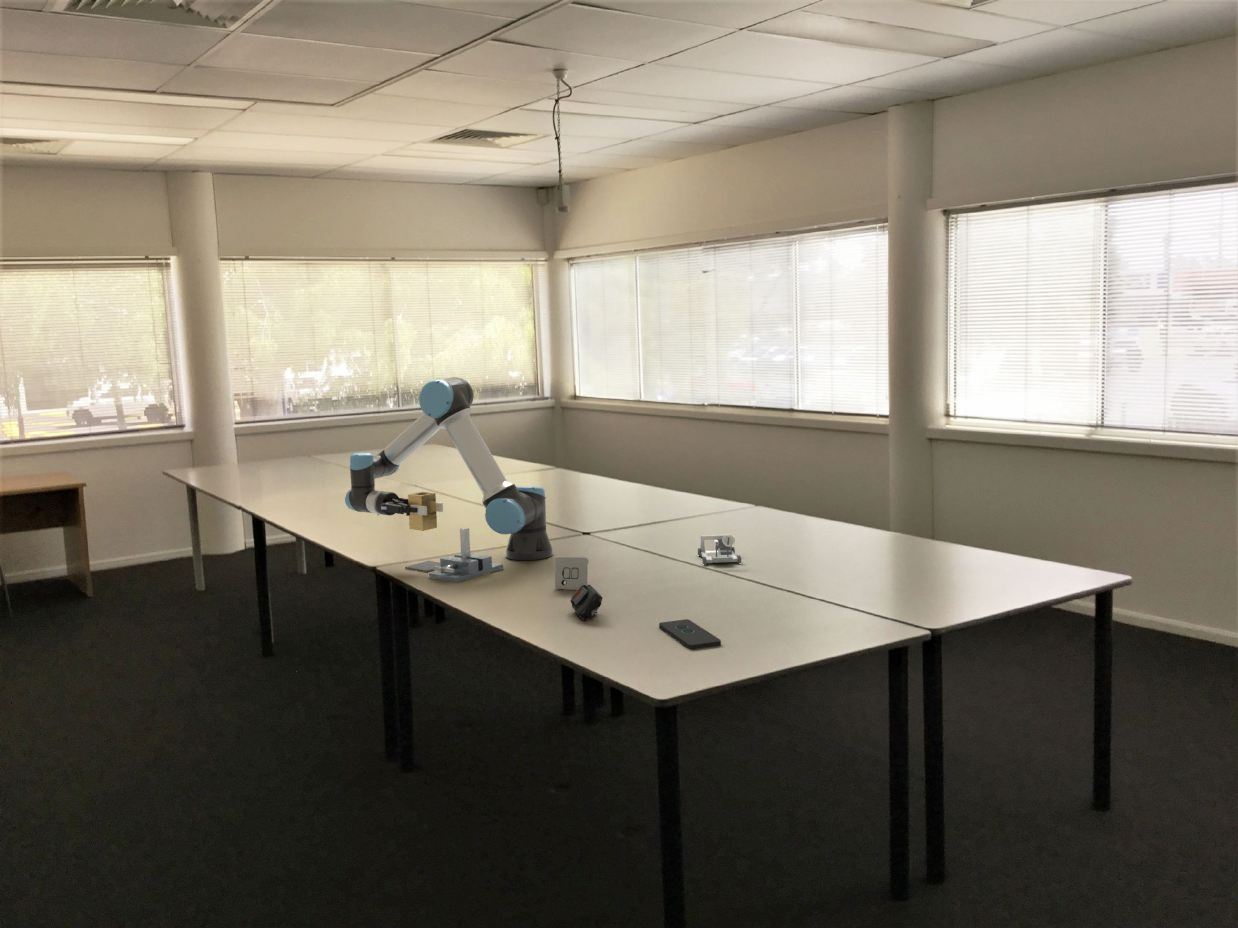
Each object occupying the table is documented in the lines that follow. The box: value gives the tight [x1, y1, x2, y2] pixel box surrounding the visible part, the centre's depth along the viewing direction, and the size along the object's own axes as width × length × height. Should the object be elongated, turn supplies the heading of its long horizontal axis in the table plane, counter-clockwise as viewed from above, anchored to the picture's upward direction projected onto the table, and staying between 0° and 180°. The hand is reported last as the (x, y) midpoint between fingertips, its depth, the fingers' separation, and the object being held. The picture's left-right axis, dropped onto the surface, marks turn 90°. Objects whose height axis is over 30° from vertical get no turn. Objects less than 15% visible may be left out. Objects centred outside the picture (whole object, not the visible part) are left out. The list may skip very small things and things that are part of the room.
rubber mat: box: [404, 560, 441, 573], centre depth 328 cm, size 10×10×1 cm
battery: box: [570, 584, 603, 621], centre depth 267 cm, size 12×8×7 cm
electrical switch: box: [554, 556, 589, 591], centre depth 296 cm, size 9×5×9 cm, turn 78°
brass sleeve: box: [407, 491, 438, 532], centre depth 326 cm, size 6×6×11 cm
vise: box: [428, 527, 504, 584], centre depth 317 cm, size 20×12×14 cm, turn 144°
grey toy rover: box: [697, 534, 742, 566], centre depth 325 cm, size 18×10×12 cm
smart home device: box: [658, 618, 722, 651], centre depth 247 cm, size 8×2×20 cm
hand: (433, 509), depth 323 cm, fingers closed on brass sleeve, 6 cm apart
